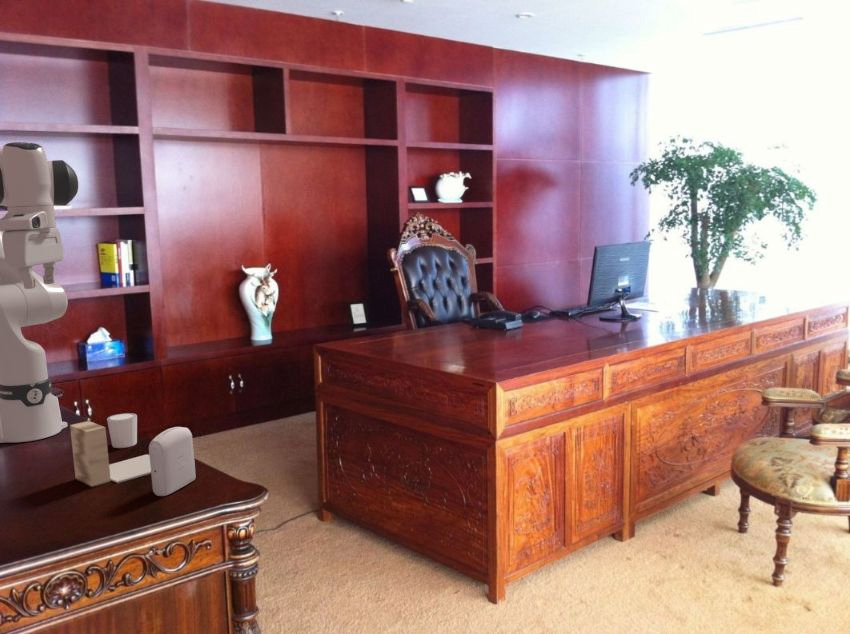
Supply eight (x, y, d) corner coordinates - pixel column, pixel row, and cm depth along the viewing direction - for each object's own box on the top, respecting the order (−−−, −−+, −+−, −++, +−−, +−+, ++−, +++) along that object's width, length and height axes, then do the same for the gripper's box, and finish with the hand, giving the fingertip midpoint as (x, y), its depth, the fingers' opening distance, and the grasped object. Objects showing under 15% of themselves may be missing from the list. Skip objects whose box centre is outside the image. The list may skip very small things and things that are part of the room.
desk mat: (92, 471, 178) (91, 469, 178) (147, 455, 187) (146, 454, 187) (117, 483, 170) (117, 481, 170) (173, 466, 179) (173, 465, 179)
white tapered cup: (115, 450, 192) (113, 422, 191) (105, 444, 197) (102, 416, 196) (144, 444, 196) (141, 416, 195) (133, 438, 201) (130, 411, 200)
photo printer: (167, 497, 161) (161, 437, 159) (149, 495, 162) (144, 436, 160) (199, 480, 170) (194, 423, 168) (182, 478, 172) (177, 421, 170)
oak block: (75, 479, 173) (69, 425, 171) (93, 473, 176) (88, 420, 174) (92, 487, 168) (86, 431, 166) (110, 482, 171) (105, 427, 169)
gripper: (38, 220, 179) (45, 282, 181) (-7, 222, 159) (2, 292, 161) (67, 218, 180) (74, 280, 182) (25, 220, 159) (34, 290, 161)
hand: (39, 286), depth 171 cm, fingers open, 8 cm apart
